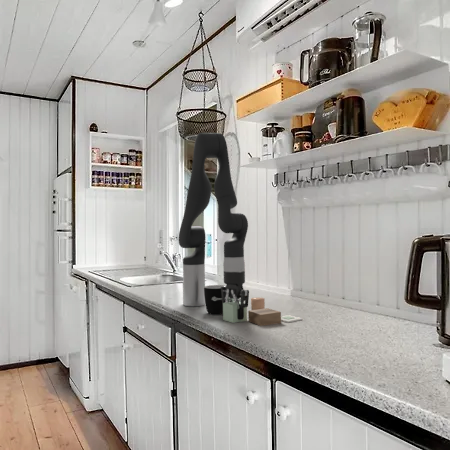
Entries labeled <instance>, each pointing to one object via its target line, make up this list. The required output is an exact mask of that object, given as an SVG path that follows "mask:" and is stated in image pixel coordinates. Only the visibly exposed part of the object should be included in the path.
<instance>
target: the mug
mask: <svg viewBox="0 0 450 450" xmlns="http://www.w3.org/2000/svg"><path fill="white" fill-rule="evenodd" d="M223 286H226V284H225V285H224V284H223V285H222V284H212V285H211V284H209V285H205V287H204V296H205V305H204V306H205V310H206V311H207V312H206V313H207V314H209V315H213V316H217V315H218V316H219V315H223V303H222V294H221V287H223ZM225 298H226V296H225ZM225 300H226V299H225ZM233 301H234V300H233Z"/></svg>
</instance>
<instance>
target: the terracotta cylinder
mask: <svg viewBox="0 0 450 450" xmlns="http://www.w3.org/2000/svg"><path fill="white" fill-rule="evenodd" d="M265 303H266V301H265V298H264V297H252V298H250V304H251V305H250V309H251V310H258V309H266V307H265V305H266V304H265Z"/></svg>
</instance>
